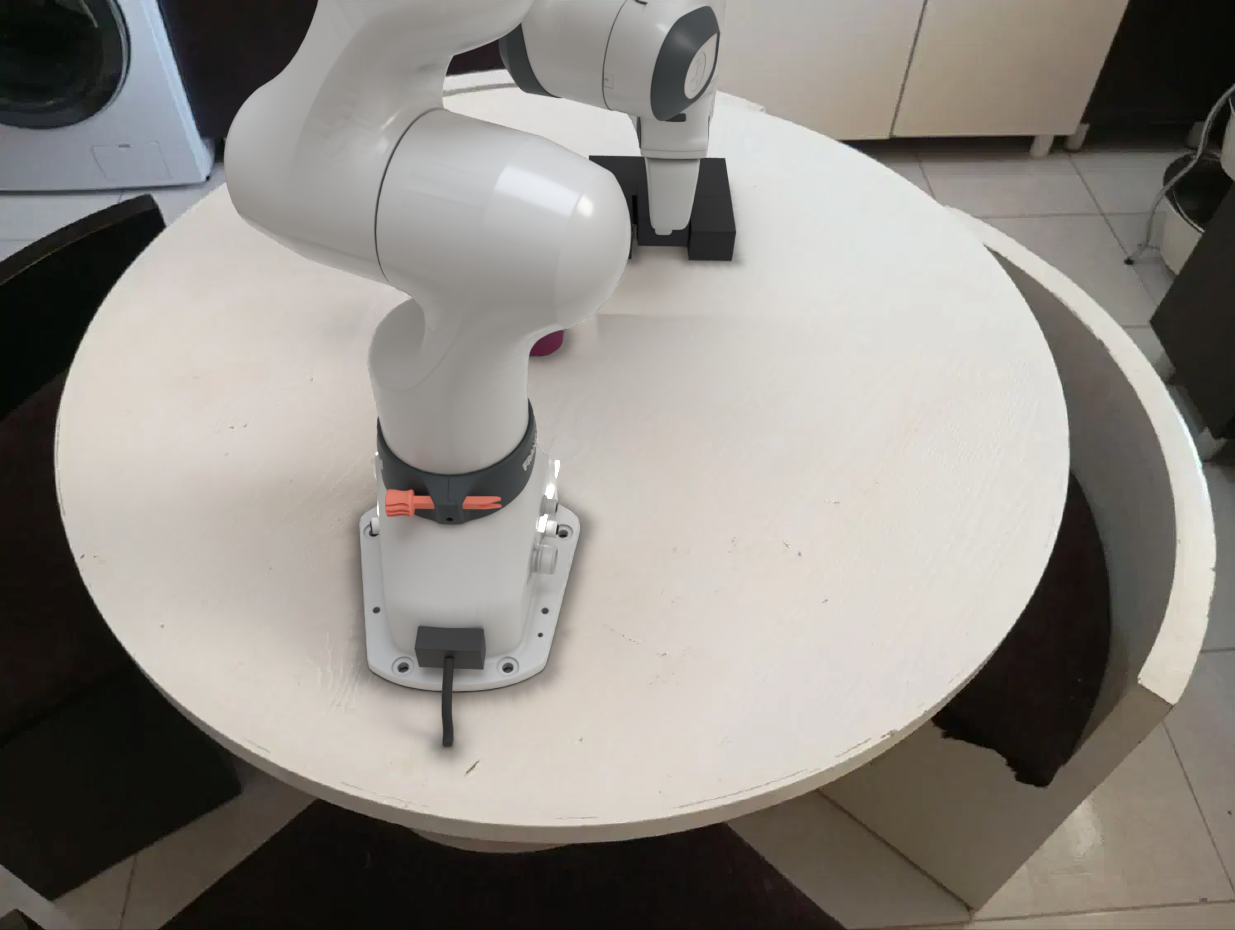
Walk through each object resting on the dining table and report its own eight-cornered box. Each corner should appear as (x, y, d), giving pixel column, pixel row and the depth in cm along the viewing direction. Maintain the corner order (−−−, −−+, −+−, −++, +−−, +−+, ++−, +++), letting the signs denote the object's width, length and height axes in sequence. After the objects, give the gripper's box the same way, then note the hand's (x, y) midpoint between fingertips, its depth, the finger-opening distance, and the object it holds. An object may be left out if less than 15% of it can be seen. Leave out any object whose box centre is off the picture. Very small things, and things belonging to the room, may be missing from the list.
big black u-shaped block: (731, 261, 110) (736, 231, 107) (587, 258, 110) (588, 229, 107) (721, 186, 119) (725, 157, 116) (588, 184, 119) (588, 155, 116)
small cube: (687, 247, 109) (690, 217, 106) (637, 246, 109) (639, 216, 106) (684, 216, 113) (687, 186, 110) (635, 215, 113) (637, 185, 110)
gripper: (636, 42, 105) (630, 157, 115) (642, 152, 92) (635, 270, 102) (695, 44, 105) (684, 158, 116) (710, 154, 92) (696, 271, 103)
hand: (661, 212), depth 109 cm, fingers closed on small cube, 5 cm apart
